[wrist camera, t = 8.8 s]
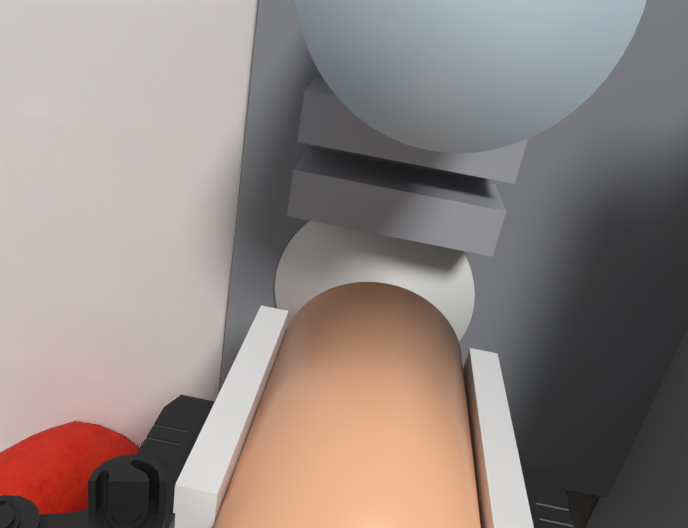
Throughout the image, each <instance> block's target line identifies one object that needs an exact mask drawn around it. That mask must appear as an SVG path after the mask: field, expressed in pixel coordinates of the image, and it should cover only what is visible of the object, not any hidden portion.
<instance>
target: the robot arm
mask: <svg viewBox="0 0 688 528" xmlns="http://www.w3.org/2000/svg"><path fill="white" fill-rule="evenodd" d="M288 312H289V311H286V310H281V309H276V308H271V307H266V306H262V305H261V307H260V309H259V311H258V313H257V315H256V317H255V319H254V321H253V323H252V325H251V328H250V330H249V332H248V334H247V336H246V338H245V340H244V342H243V344H242V346H241V348H240V350H239V353H238V355H237V357H236V359H235V361H234V363H233V365H232V367H231V369H230V371H229V373H228V376H227V378H226V380H225V382H224V384H223V386H222V388H221V390H220V392H219V394H218V396H217V399H216V401H215V402H213V401H208V400H203V399H199V398H194V397H189V396H184V395H180V396H179V397H178V398H176V399H175V400H173V401H172V402H171V403H169V404H168V405H166V406H165V407H164V408H163V410H162V412H161V413H160V415H159V417H158V419H157V420H156V422H155V425H154V426H153V427H152V429H151V430H150V432H149V434H148V435H147V439H145V441H144V442H143V444H142V446H141V447H140V449H139V451H138V452H137V454H136V455H135V454H132V455H123V456H118V457H115V458H112V459H110V460H107V461H105V462H104V463H102V464H101V465H100V466H99V467H97V468H96V469H95V470H94V471H93V473H92V475H91V476H90V478H89V480H88V509H85V510H82V511H76V512H70V513H56V514H41V515H39V509H38V508H37V506H36V505H35V504H34V503H33V502H32V501H31V500H29V499H26V498H24V497H21V496H15V495H2V496H0V528H213V527H214V524H215V522H216V519H217V516H218V514H219V511H220V508H221V505H222V503H223V500H224V497H225V495H226V492H227V489H228V487H229V484H230V481H231V479H232V476H233V473H234V471H235V468H236V465H237V463H238V460H239V457H240V454H241V452H242V449H243V446H244V444H245V441H246V438H247V436H248V433H249V430H250V428H251V425H252V422H253V420H254V417H255V414H256V412H257V409H258V406H259V403H260V401H261V398H262V395H263V393H264V390H265V387H266V385H267V382H268V379H269V377H270V374H271V371H272V369H273V366H274V363H275V361H276V358H277V355H278V352H279V350H280V347H281V344H282V342H283V339H284V336H285V332H286V325H287V318H288ZM463 372H464V381H465V390H466V399H467V408H468V417H469V426H470V435H471V444H472V453H473V462H474V471H475V480H476V489H477V498H478V507H479V516H480V525H481V528H574V522H573V519H572V515H571V512H569V509H570V508H569V504H568V501H567V497H566V494H565V490H564V488H563V487H562V485H561V484H560V483H559V481H558V480H557V479H556V477H555V476H554V475H553V473H552V472H551V470H547V469H542V468H537V467H532V466H527V465H523V464H520V459H519V454H518V449H517V445H516V440H515V435H514V430H513V425H512V420H511V416H510V411H509V406H508V401H507V396H506V392H505V387H504V382H503V377H502V372H501V368H500V363H499V358H498V354H497V353H492V352H487V351H483V350H478V349H473V348H469V351H468V355H467V358H466V361H465V364H464V368H463Z"/></svg>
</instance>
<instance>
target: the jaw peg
mask: <svg viewBox="0 0 688 528" xmlns="http://www.w3.org/2000/svg"><path fill="white" fill-rule="evenodd" d="M213 528H481V525H480V516H479V507H478V498H477V489H476V480H475V471H474V462H473V453H472V444H471V435H470V426H469V417H468V408H467V399H466V390H465V381H464V372H463V363H462V354H461V348H460V344H459V340H458V338H457V336H456V333H455V331H454V329H453V328H452V326H451V324H450V323H449V321H448V320H447V319H446V317H445V316H444V315H443V314H442V313H441V312H440V311H439V310H438V309H437V308H436V307H435V306H434V305H433V304H432V303H430V302H429V301H427V300H426V299H425V298H423V297H421V296H420V295H418V294H416V293H414V292H412V291H410V290H407V289H405V288H402V287H399V286H395V285H391V284H387V283H380V282H355V283H348V284H344V285H339V286H336V287H334V288H331V289H328V290H326V291H324V292H322V293H320V294H318V295H317V296H315V297H314V298H312V299H311V300H309V301H308V302H307V303H306V304H305V305H304V306H303V307H301V308H300V310H299V311H298V312H297V313H296V315H295V316H294V317H293V319H292V321H291V322H290V324H289V326H288V328H287V331H286V333H285V336H284V339H283V342H282V344H281V347H280V350H279V352H278V355H277V358H276V361H275V363H274V366H273V369H272V371H271V374H270V377H269V379H268V382H267V385H266V387H265V390H264V393H263V395H262V398H261V401H260V403H259V406H258V409H257V412H256V414H255V417H254V420H253V422H252V425H251V428H250V430H249V433H248V436H247V438H246V441H245V444H244V446H243V449H242V452H241V454H240V457H239V460H238V463H237V465H236V468H235V471H234V473H233V476H232V479H231V481H230V484H229V487H228V489H227V492H226V495H225V497H224V500H223V503H222V505H221V508H220V511H219V514H218V516H217V519H216V522H215V524H214V527H213Z"/></svg>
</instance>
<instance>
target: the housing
mask: <svg viewBox="0 0 688 528" xmlns="http://www.w3.org/2000/svg"><path fill="white" fill-rule="evenodd" d="M355 282H380V283H387V284H391V285H395V286H399V287H402V288H405V289H407V290H410V291H412V292H414V293H416V294H418V295H420V296H421V297H423V298H425V299H426V300H427V301H429V302H430V303H432V304H433V305H434V306H435V307H436V308H437V309H438V310H439V311H440V312H441V313H442V314H443V315H444V316H445V317H446V319H447V320H448V321H449V323H450V324H451V326H452V328H453V329H454V331H455V333H456V336H457V338H458V340H459V344H460V348H461V354H462V363H463V368H464V364H465V361H466V358H467V355H468V351H469V348H473V349H478V350H483V351H487V352H492V353H497V354H498V358H499V363H500V368H501V372H502V377H503V382H504V387H505V392H506V396H507V401H508V406H509V411H510V416H511V420H512V425H513V430H514V435H515V440H516V445H517V449H518V454H519V459H520V464H523V465H527V466H532V467H537V468H542V469H547V470H551V472H552V473H553V475H554V476H555V477H556V479H557V480H558V481H559V483H560V484H561V485H562V487H563V488H564V489H565V490H570V491H575V492H580V493H585V494H589V495H594V496H599V500H598V502H597V504H596V506H595V508H594V510H593V512H592V514H591V517H590V519H589V521H588V523H587V525H586V527H585V528H688V0H259V5H258V15H257V24H256V34H255V44H254V54H253V64H252V73H251V83H250V93H249V103H248V113H247V122H246V132H245V142H244V152H243V162H242V171H241V181H240V191H239V201H238V211H237V221H236V230H235V240H234V250H233V260H232V270H231V279H230V289H229V299H228V309H227V319H226V328H225V338H224V348H223V358H222V368H221V377H220V387H219V392H220V390H221V388H222V386H223V384H224V382H225V380H226V378H227V376H228V373H229V371H230V369H231V367H232V365H233V363H234V361H235V359H236V357H237V355H238V353H239V350H240V348H241V346H242V344H243V342H244V340H245V338H246V336H247V334H248V332H249V330H250V328H251V325H252V323H253V321H254V319H255V317H256V315H257V313H258V311H259V309H260V307H261V305H262V306H266V307H271V308H276V309H281V310H286V311H289V312H288V318H287V325H286V331H287V328H288V326H289V324H290V322H291V321H292V319H293V317H294V316H295V315H296V313H297V312H298V311H299V310H300V308H301V307H303V306H304V305H305V304H306V303H307V302H308V301H309V300H311V299H312V298H314V297H315V296H317V295H318V294H320V293H322V292H324V291H326V290H328V289H331V288H334V287H336V286H339V285H344V284H348V283H355ZM285 333H286V332H285Z"/></svg>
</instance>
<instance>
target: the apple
mask: <svg viewBox="0 0 688 528" xmlns="http://www.w3.org/2000/svg"><path fill="white" fill-rule="evenodd" d="M139 449H140V448H138V447H137V446H136V445H134V444H133V443H132V442H131V441H129V440H128V439H127V438H125V437H124V436H123V435H121V434H118V433H116V432H114V431H111V430H109V429H106V428H104V427H102V426H99V425H95V424H88V423H82V422H76V421H74V422H71V423H67V424H64V425H60V426H57V427H54V428H51V429H48V430H45V431H43V432H40V433H38V434H35V435H33V436H30V437H28V438H26V439H25V440H23V441H21V442H19V443H17V444H15V445H14V446H12V447H10V448H8V449H6V450H4V451H2V452H1V453H0V496H2V495H15V496H21V497H24V498H26V499H29V500H31V501H32V502H33V503H34V504H35V505H36V506H37V508H38V509H39V515H41V514H56V513H70V512H76V511H82V510H85V509H88V480H89V478H90V476H91V475H92V473H93V471H94V470H95V469H96V468H97V467H99V466H100V465H101V464H102V463H104V462H105V461H107V460H110V459H112V458H115V457H118V456H123V455H132V454H135V455H136V454H137V452H138V451H139Z"/></svg>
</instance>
